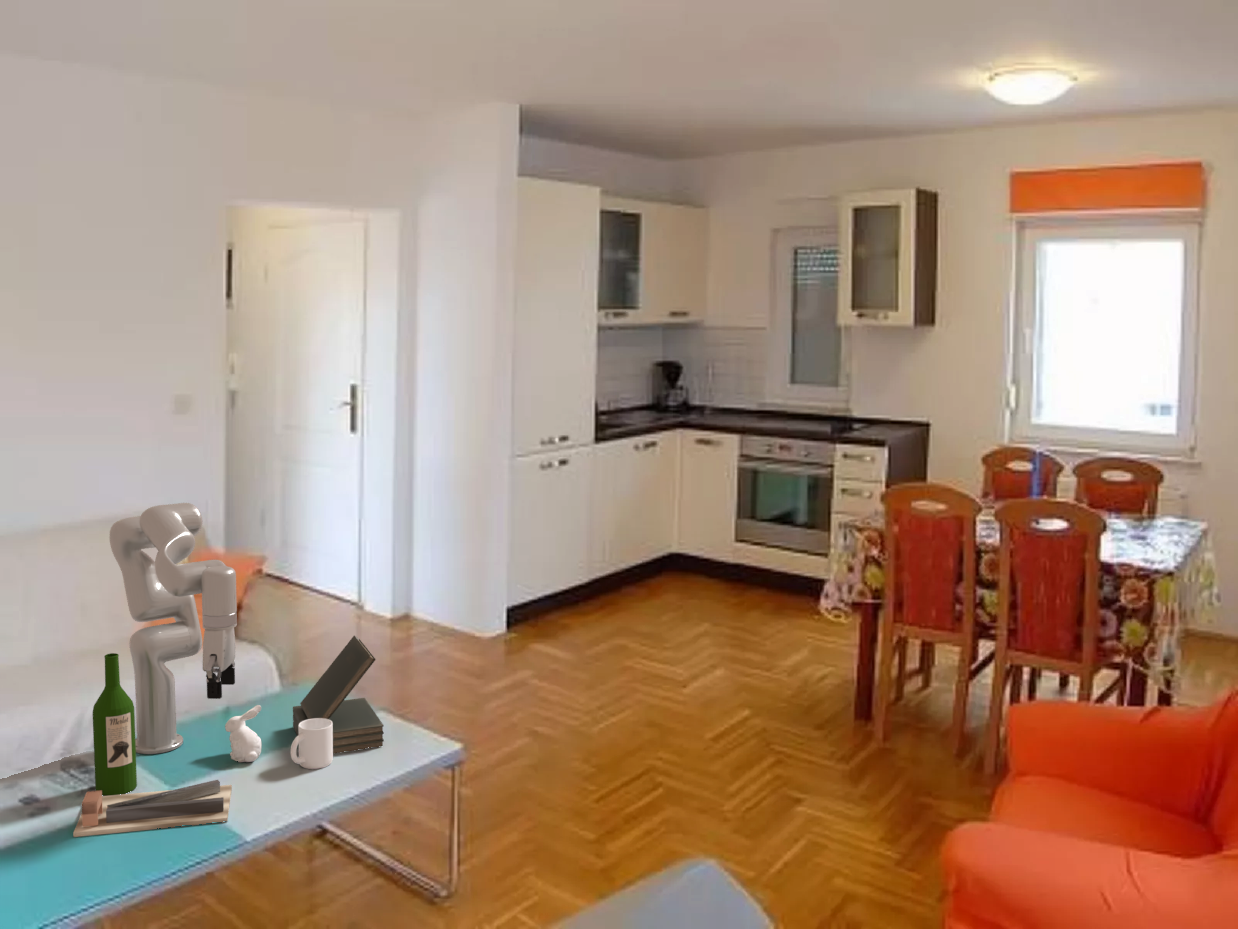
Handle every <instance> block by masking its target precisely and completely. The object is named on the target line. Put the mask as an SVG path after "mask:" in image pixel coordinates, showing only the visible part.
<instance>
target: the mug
mask: <svg viewBox="0 0 1238 929" xmlns="http://www.w3.org/2000/svg"><path fill="white" fill-rule="evenodd" d="M297 748H298V755H297ZM290 758H291V761H292V762H294V763H295V764H296V765H297V764H299V766H301V767H302V768H304V769H307V770H320V769H323V768H326V767H329V766H330V765H331V764H332V763H333V761H334V760H333V759H334V754H333V723H332V721H331V720H329V719H325V718H313V719H307V720H304V721H302V722H300V723H299V725H298V736H297V735H296V736H295V738H294V740H292V743H291V746H290Z"/></svg>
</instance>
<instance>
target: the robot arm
mask: <svg viewBox="0 0 1238 929" xmlns="http://www.w3.org/2000/svg"><path fill="white" fill-rule="evenodd" d="M202 528H203V516H202V513H201V511H200V510H199V508H198V507H197V506H196V505H194V504H193V503H191V502H180V503H171V504H170V503H169V504H160V505H154V506H150V507H148V508H147V509H145V510H144V511H143V512H142V513H141V515H137V516H131V517H125V518H122V519H120V520H117V521H116V522H114V523H113V524H112V525H111V527H110V530H109V545H110V549H111V552H112V554H113V557H114V559H115V560H116V562H117V563H116V564H118V566H119V569H120V572H121V574H122V579H123V584H124V589H125V597H126V601H127V606H128V611H129V614H130V616H131V618H132V619H133V621H135V622H137V623H146V622H154V621H160V620H166V619H171V618H172V619H174V621H175V622H170V623H162V624H156V625H151V626H147V627H143V628H140V629H138V630H136V631H134V632H133V634H132V635H131V636H130V639H129V643H128V645H129V652H130V656H131V660H132V664H133V674H134V688H135V689H134V690H135V692H134V693H135V715H136V716H135V719H136V720H135V725H136V737H135V744H136V754H140V755H141V754H142V755H155V754H157V755H158V754H162V753H167V752H170V751H174V750H175V749H178V748H179V747H181V746H182V745H183V743H184V737H183V736H182V735H181V734H179V733H178V732H177V706H176V705H177V704H176V702H177V701H176V679H175V676H174V673H173V672H172V671H171V670H170V669H169V668H168V667H167V666H166V665H165V663H167V662H171V661H175V660H179V659H184V658H190V657H193V656H195V655H197V654H198V653H199V652H200V651H201V650H202V671H203V672H205V673H206V675H205V677H206V680H205V681H206V698H207V699H208V700H209V699H211V700H212V699H213V700H214V699H215V700H216V699H217V700H220V699H222V698H223V685H224V686H225V685H227V686H229V685H235V683H236V674H235V673H236V672H235V670H236V667H235V666H236V663H235V659H236V636H235V634H236V633H235V628H236V627H237V625H238V617H237V615H238V614H237V612H238V608H237V607H238V606H237V605H238V604H237V572H236V570H235V569H234V568H233V567H231V566H227V565H226V564H225V563H224V562H223V560H220V559H208V560H200V561H193V562H185V563H181V562H183V560H185V559H187V558H188V557H189V556H190V555H191V554H192V553H193V551H194V550H195V547H196V539H195V536H197V534H199V533H200V531H201V529H202ZM154 548H155V549H156V550H157V553H156V556H155V559H153V558H152V557H151V556H150V555H149V554H148V553H146V552H145V551H143V550H144V549H145V550H146V549H154ZM198 594H201V608H202V610H201V611H202V612H201V614H202V616H201V617H202V619H201V620H202V629H204V634H203V636H202V629H201V624H200V619H199V614H198V609H197V604H196V599H195V595H198ZM216 673H217V674H216Z"/></svg>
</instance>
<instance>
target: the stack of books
mask: <svg viewBox="0 0 1238 929" xmlns="http://www.w3.org/2000/svg"><path fill="white" fill-rule="evenodd" d="M376 660H377V659H376V657H375V656H374V655H373V654H372V653H371V651H370V650H369V649H368V648H367V646H366V645H365V644H364V643H363V641H362V640H361V639H360V638H359V637H358V636H356V635H353V636H352V637H351V639H350V640H349V641H348V642H347V644H346V645H345V646H344V648H343V649H342V650H341V651H340V653H339V654H338V655H337V656H336V658H335V659H333V661H332V663H331V664H330V665H329V667H328V668H327V669H326V670H325V672H324V673H323V674H322V675H321V676H320V678H319V679H318V680H317V681H316V683H315V684H314V685H313V687H312V688H311V690H310V691H309V692H308V693H307V694H306V696H305V697H303V699H302V701H300V703H299V705H296V706H295V705H294V706H292V729H293V730H294V732H295V734H296V737H297V736H298V725H299V723H300V722H302V721H304V720H307V719H313V718H325V719H329V720H331V721H332V723H333V755H334V753H335V754H341V753H340V752H342V753H345V752H344V751H349V752H355V751H354V750H356V751H359V750H358V749H363V750H366V749H365V748H368V747H369V748H370V749H372V748H371V747H377V748H380V747H379V746H383V743H384V742H385V741H384V738H383V737H384V736H383V735H384V733H385V732H384V728H383V727H384V723H383V722H382V721H381V718H379V716H378V715H377V714H376V712H375V711H374V709H373V708H372V707H371V705H370V704H369V702H368V701H367V699H366V698H365V697H359V698H352V699H346V698H347V697H348V696H349V694H350V693H351V692H352V690H354V688H355V687H356V686H357V684H358V683H359V682H360V680H361V679H362V678H363V676H364V675H365V674H366V673H367V672H368V670H369V669H370V668H371V667H372V665H373V664H374V663H375V661H376ZM383 747H384V746H383Z"/></svg>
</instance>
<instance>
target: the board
mask: <svg viewBox="0 0 1238 929" xmlns="http://www.w3.org/2000/svg"><path fill="white" fill-rule="evenodd" d="M232 785H233V784H226V785H223V784H222V785H220V792H217V793H213V794H209V795H205V796H201V797H196V798H192V799H188V800H184V801H178V802H167V803H156V804H145V805H134V806H123V807H113V808H107V805H110V804H115V803H119V802H123V801H128V800H132V799H136V798H141V797H145V796H149V795H154V794H158V793H162V792H166V791H171V790H172V789H169V790H168V789H167V790H157V791H147V792H146V791H145V792H133V793H127V794H121V795H110V796H102V807H103V813H102V814H98V825H94V826H84V827H83V824H82V813H81V814H80V816H79V818H78V821H77V823H76V826H75V827H74V830H73V832H72V833H73V838H78V837H89V836H98V835H109V834H118V833H128V832H129V833H130V832H141V831H150V830H160V829H159V828H161V829H169V828H168V827H171V828H176V827H175V826H181V827H183V826H182V825H192V826H199V824H202V825H207V824H206V823H212V822H222V823H224V822H223V821H227V822H228V819H229V812H230V806H229V805H230V804H231V797H232V791H233V790H232V789H233V786H232ZM212 824H213V823H212ZM157 828H158V829H157Z"/></svg>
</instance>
